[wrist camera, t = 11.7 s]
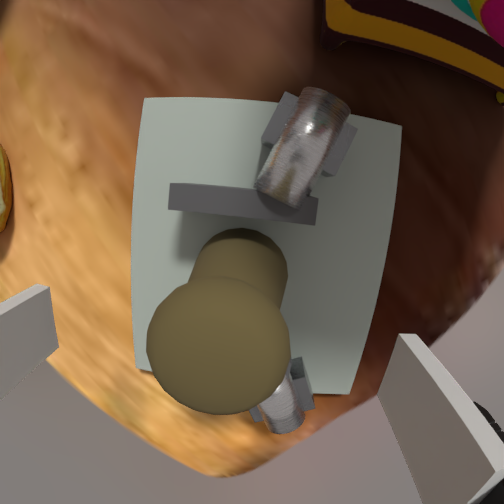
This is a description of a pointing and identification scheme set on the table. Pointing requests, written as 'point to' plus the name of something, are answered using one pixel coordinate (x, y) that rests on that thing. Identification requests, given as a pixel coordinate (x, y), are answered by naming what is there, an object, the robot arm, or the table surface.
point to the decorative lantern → (426, 32)
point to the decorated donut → (4, 189)
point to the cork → (224, 327)
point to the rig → (264, 223)
